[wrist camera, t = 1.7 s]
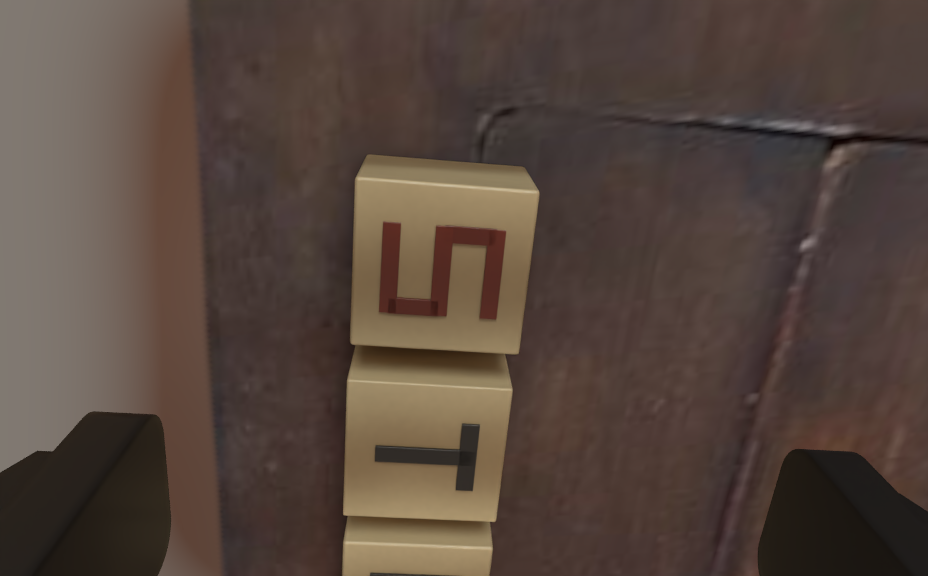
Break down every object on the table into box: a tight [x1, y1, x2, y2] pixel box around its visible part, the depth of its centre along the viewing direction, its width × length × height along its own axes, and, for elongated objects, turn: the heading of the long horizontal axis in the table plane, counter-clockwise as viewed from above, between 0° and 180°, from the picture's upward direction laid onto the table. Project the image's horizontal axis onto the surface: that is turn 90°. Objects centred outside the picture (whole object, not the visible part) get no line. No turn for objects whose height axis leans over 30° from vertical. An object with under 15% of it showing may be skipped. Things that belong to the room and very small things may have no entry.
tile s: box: [350, 155, 540, 355], centre depth 19 cm, size 4×4×3 cm
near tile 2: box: [343, 345, 513, 522], centre depth 21 cm, size 4×4×3 cm
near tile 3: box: [342, 516, 493, 576], centre depth 23 cm, size 4×4×3 cm
